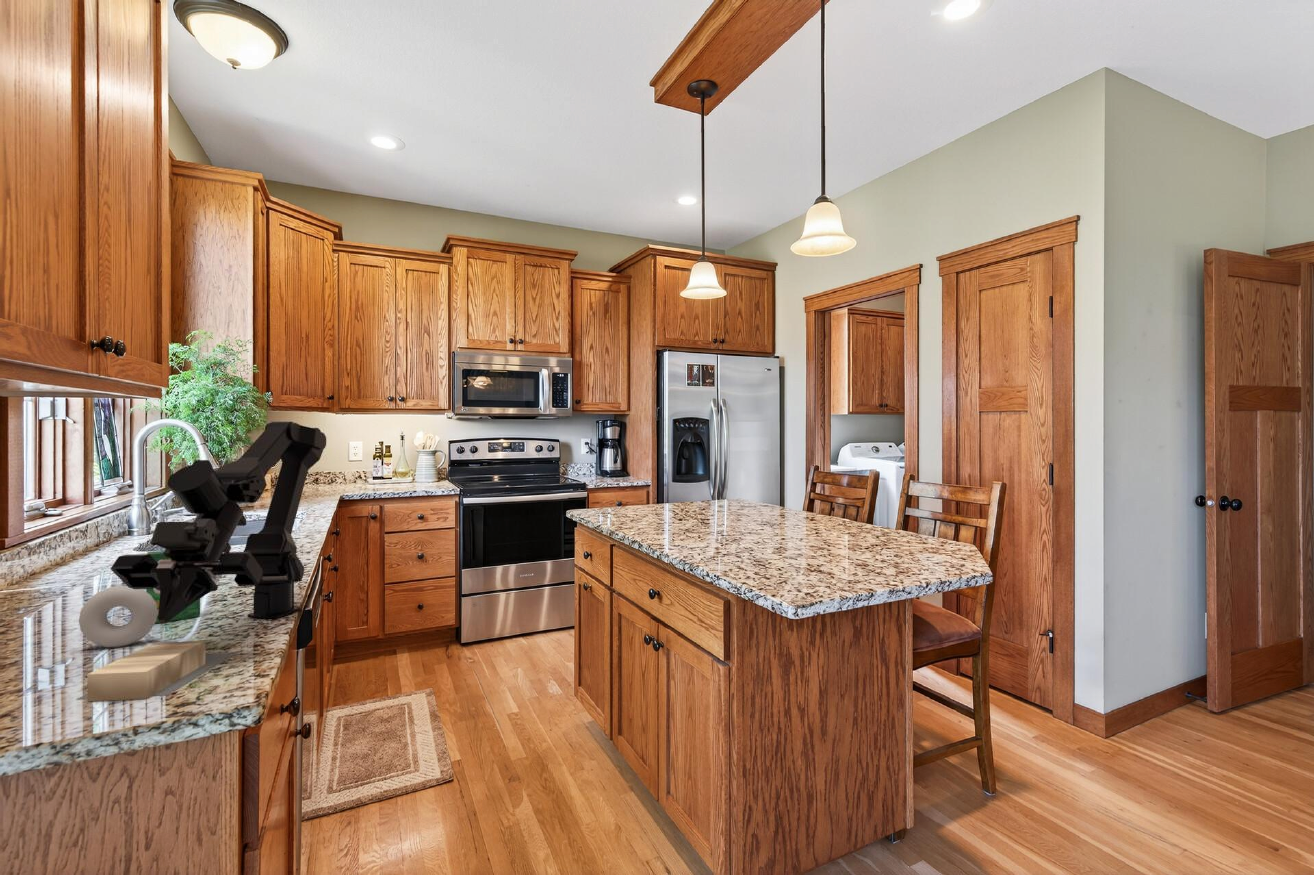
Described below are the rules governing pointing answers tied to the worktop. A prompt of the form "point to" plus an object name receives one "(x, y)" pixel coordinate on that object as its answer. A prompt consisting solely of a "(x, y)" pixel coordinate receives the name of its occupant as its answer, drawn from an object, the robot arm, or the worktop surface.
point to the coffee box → (155, 593)
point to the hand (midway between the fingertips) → (162, 621)
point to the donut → (118, 636)
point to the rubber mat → (192, 673)
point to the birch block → (145, 671)
